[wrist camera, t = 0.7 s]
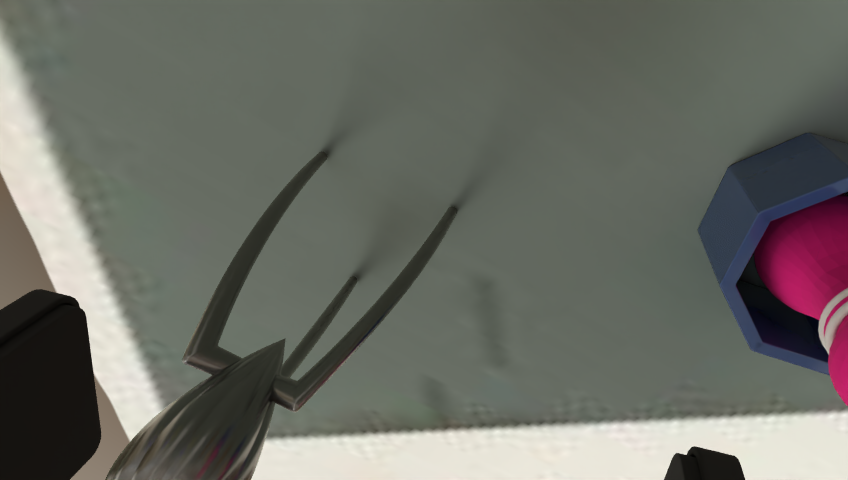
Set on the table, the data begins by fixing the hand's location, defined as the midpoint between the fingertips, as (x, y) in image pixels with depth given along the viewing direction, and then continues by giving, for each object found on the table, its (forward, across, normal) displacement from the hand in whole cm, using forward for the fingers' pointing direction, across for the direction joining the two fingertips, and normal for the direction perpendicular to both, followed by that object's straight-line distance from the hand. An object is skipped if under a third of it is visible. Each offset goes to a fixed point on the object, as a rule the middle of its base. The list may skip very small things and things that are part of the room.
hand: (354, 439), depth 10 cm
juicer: (+36, +10, +12) cm, 39 cm away
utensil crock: (+36, -19, +7) cm, 41 cm away
